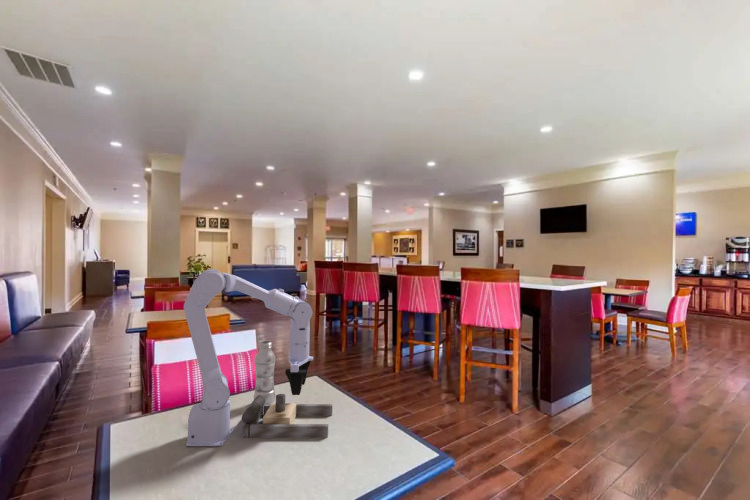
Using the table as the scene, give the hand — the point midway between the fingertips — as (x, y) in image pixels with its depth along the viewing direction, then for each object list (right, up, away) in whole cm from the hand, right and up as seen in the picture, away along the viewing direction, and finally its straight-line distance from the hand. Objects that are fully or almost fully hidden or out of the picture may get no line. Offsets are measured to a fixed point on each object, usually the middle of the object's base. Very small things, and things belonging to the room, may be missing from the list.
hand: (298, 389), depth 100 cm
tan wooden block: (-4, -8, -4) cm, 10 cm away
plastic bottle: (-14, -10, +11) cm, 20 cm away
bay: (-1, -9, -4) cm, 10 cm away
